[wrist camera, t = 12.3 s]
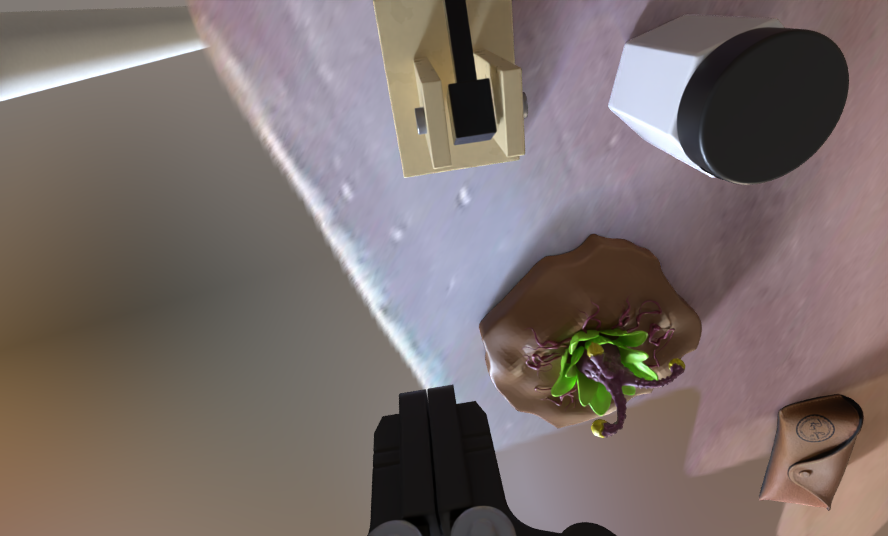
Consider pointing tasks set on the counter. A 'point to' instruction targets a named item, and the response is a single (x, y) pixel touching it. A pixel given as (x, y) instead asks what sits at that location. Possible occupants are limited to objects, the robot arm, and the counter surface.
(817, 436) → the sunglasses case
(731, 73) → the jar
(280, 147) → the counter surface
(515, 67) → the bracket
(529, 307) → the plant
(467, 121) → the lever
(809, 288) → the counter surface
